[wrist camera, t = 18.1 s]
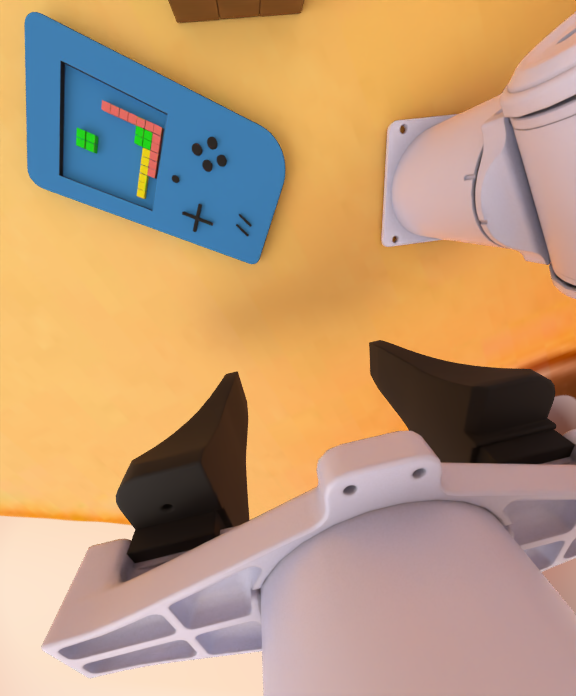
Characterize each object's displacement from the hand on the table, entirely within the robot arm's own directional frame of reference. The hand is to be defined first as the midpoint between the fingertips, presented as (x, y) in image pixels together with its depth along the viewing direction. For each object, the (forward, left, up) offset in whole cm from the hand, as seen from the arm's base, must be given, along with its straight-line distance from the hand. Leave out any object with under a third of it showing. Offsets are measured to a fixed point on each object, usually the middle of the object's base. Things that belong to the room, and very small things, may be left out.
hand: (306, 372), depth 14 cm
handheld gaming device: (+7, -11, -10) cm, 17 cm away
